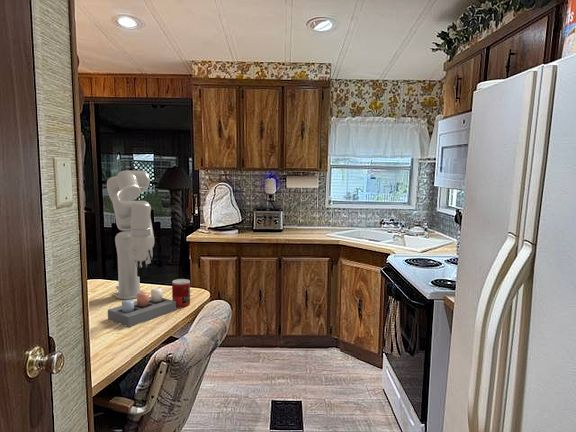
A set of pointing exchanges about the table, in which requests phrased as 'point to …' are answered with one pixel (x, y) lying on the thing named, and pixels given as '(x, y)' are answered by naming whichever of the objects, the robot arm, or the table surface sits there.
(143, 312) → the grey slotted tray
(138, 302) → the pink rounded dome
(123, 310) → the pale blue rounded dome
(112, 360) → the table surface
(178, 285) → the canned food
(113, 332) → the table surface
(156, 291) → the white dome button
